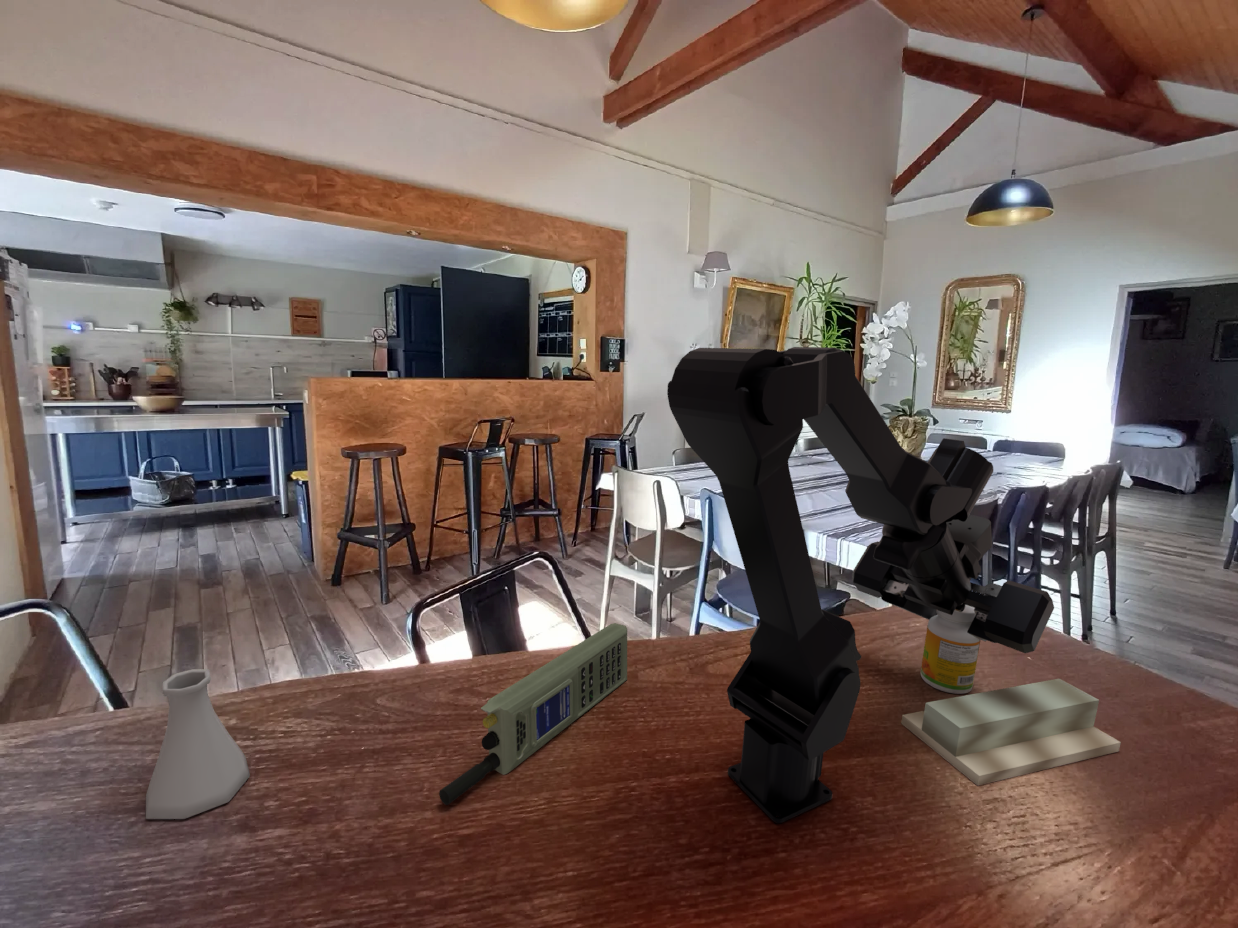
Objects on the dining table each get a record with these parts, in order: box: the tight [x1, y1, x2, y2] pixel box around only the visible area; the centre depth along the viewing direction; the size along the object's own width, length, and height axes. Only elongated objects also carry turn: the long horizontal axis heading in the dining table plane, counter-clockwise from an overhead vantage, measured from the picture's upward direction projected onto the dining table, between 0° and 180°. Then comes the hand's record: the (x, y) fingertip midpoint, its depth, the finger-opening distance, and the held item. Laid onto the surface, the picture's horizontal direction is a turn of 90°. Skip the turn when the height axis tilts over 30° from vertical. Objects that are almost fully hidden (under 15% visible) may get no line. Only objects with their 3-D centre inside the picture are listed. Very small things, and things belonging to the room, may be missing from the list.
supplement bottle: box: [920, 605, 981, 695], centre depth 67 cm, size 5×5×10 cm
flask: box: [145, 668, 251, 820], centre depth 47 cm, size 7×7×10 cm
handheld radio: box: [438, 622, 628, 806], centre depth 56 cm, size 7×3×25 cm
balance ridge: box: [900, 678, 1121, 787], centre depth 58 cm, size 18×9×4 cm, turn 107°
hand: (959, 627), depth 67 cm, fingers closed on supplement bottle, 5 cm apart
